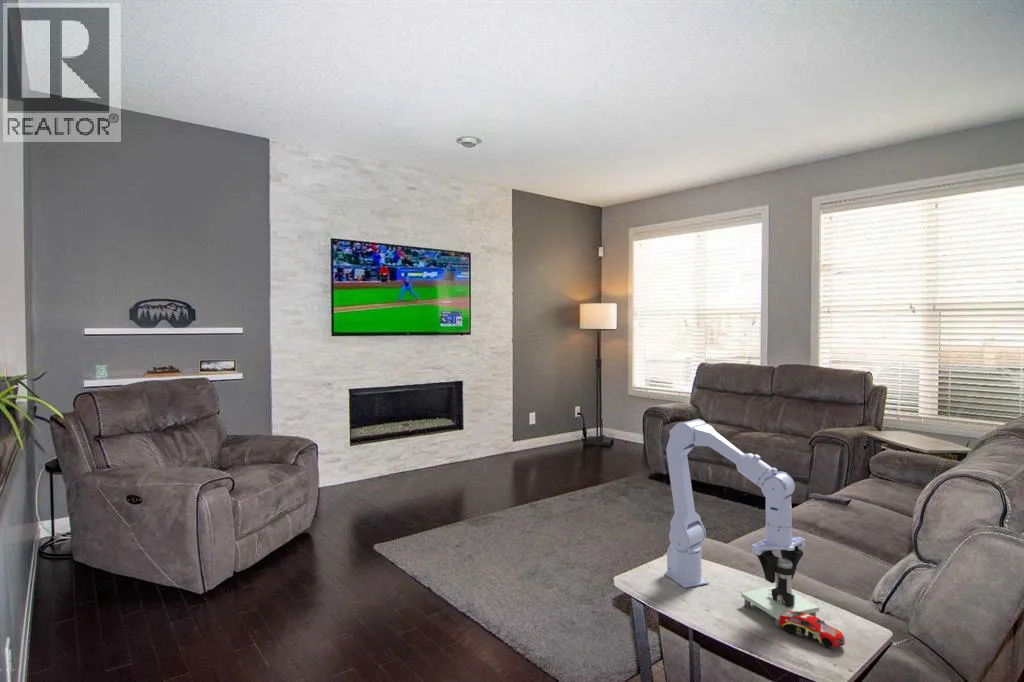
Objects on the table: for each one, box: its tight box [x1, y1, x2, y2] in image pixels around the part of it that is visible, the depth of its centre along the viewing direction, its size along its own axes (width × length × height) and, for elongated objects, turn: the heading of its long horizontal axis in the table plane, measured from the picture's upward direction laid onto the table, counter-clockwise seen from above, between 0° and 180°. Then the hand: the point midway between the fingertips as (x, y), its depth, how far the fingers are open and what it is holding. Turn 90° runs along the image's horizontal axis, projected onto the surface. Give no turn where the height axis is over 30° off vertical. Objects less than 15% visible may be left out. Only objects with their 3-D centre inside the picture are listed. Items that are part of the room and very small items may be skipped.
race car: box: [779, 611, 846, 649], centre depth 121 cm, size 13×5×4 cm, turn 37°
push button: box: [768, 557, 797, 607], centre depth 131 cm, size 7×5×10 cm
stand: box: [740, 585, 820, 629], centre depth 132 cm, size 12×12×3 cm
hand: (779, 579), depth 132 cm, fingers closed on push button, 5 cm apart
